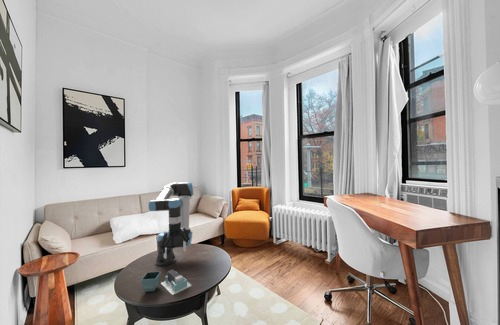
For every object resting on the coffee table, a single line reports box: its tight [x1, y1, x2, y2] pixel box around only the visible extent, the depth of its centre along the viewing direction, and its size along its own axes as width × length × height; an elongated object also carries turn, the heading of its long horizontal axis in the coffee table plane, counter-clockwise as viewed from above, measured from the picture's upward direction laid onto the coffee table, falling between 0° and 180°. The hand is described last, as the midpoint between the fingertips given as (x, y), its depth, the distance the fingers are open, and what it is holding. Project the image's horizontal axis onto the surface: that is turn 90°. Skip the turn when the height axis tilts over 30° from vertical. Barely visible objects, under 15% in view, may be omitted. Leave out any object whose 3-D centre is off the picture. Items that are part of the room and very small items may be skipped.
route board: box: [160, 271, 193, 296], centre depth 135 cm, size 17×13×4 cm
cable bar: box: [167, 269, 184, 284], centre depth 136 cm, size 14×4×6 cm, turn 46°
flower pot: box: [140, 271, 162, 293], centre depth 131 cm, size 9×9×9 cm
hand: (175, 254), depth 137 cm, fingers open, 13 cm apart
